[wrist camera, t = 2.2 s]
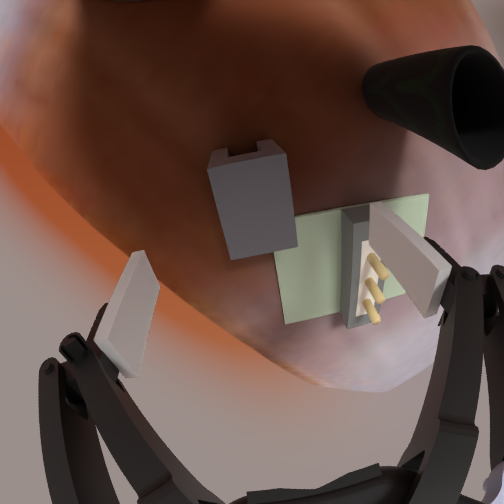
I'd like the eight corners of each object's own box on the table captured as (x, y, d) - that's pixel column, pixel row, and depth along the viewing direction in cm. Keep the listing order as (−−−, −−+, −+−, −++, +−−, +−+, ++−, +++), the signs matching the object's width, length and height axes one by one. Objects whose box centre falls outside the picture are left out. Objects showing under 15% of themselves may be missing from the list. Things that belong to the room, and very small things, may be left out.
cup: (384, 145, 22) (476, 194, 12) (334, 82, 18) (425, 84, 8) (430, 101, 19) (525, 128, 9) (387, 39, 16) (485, 28, 6)
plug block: (211, 150, 21) (206, 169, 16) (271, 138, 21) (286, 153, 16) (229, 223, 25) (230, 260, 20) (283, 212, 25) (298, 246, 20)
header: (268, 221, 25) (280, 260, 20) (427, 193, 25) (463, 220, 19) (284, 322, 33) (294, 364, 27) (410, 289, 32) (433, 321, 27)
